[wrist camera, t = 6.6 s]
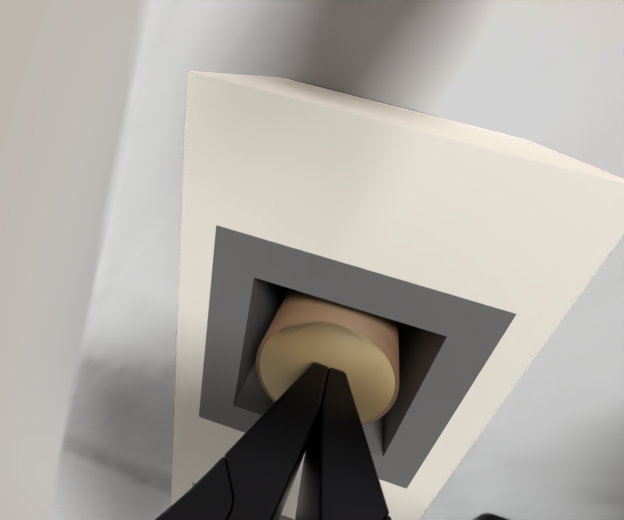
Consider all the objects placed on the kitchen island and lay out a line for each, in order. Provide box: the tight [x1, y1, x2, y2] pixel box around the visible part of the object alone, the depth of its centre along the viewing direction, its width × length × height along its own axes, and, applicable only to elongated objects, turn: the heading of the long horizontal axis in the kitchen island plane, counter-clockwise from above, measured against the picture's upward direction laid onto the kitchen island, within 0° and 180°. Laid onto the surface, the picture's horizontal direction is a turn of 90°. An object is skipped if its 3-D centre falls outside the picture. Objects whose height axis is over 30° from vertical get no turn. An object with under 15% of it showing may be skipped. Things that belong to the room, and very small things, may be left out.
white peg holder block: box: [171, 71, 624, 520], centre depth 14 cm, size 22×8×6 cm, turn 167°
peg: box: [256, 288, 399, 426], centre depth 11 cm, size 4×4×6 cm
